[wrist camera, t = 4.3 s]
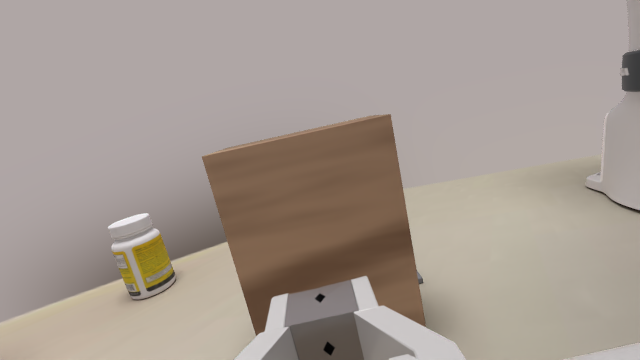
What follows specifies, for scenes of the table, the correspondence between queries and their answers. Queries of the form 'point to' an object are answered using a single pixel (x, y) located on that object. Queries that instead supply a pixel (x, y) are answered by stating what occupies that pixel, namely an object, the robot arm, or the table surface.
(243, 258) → the walnut block
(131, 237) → the supplement bottle
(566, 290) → the table surface
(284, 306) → the robot arm
